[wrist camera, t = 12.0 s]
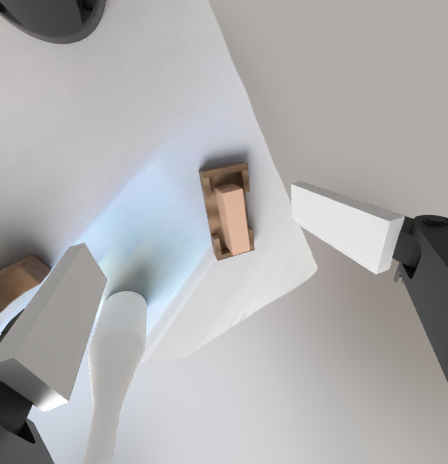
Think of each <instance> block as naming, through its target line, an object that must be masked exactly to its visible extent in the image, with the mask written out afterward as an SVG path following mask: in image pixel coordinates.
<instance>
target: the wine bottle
mask: <svg viewBox="0 0 448 464" xmlns="http://www.w3.org/2000/svg"><path fill="white" fill-rule="evenodd" d="M146 317H147V303H146V301H145V299H144V298H143V296H141V295H140V294H138V293H136V292H133V291H121V292H118V293H115V294H113V295H111V296H110V297H109V298H108V299H107V300H106V301H105V302H104V304H103V306H102V309H101V312H100V315H99V318H98V322H97V325H96V328H95V331H94V334H93V337H92V341H91V344H90V347H89V352H88V364H89V372H90V382H91V392H92V403H93V416H92V422H91V427H90V432H89V437H88V442H87V446H86V451H85V456H84V462H83V464H112V459H113V453H114V446H115V440H116V433H117V427H118V420H119V414H120V410H121V406H122V403H123V401H124V398H125V396H126V393H127V391H128V388H129V386H130V383H131V381H132V379H133V377H134V374H135V372H136V370H137V367H138V365H139V363H140V361H141V358H142V355H143V352H144V349H145V338H146Z"/></svg>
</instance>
